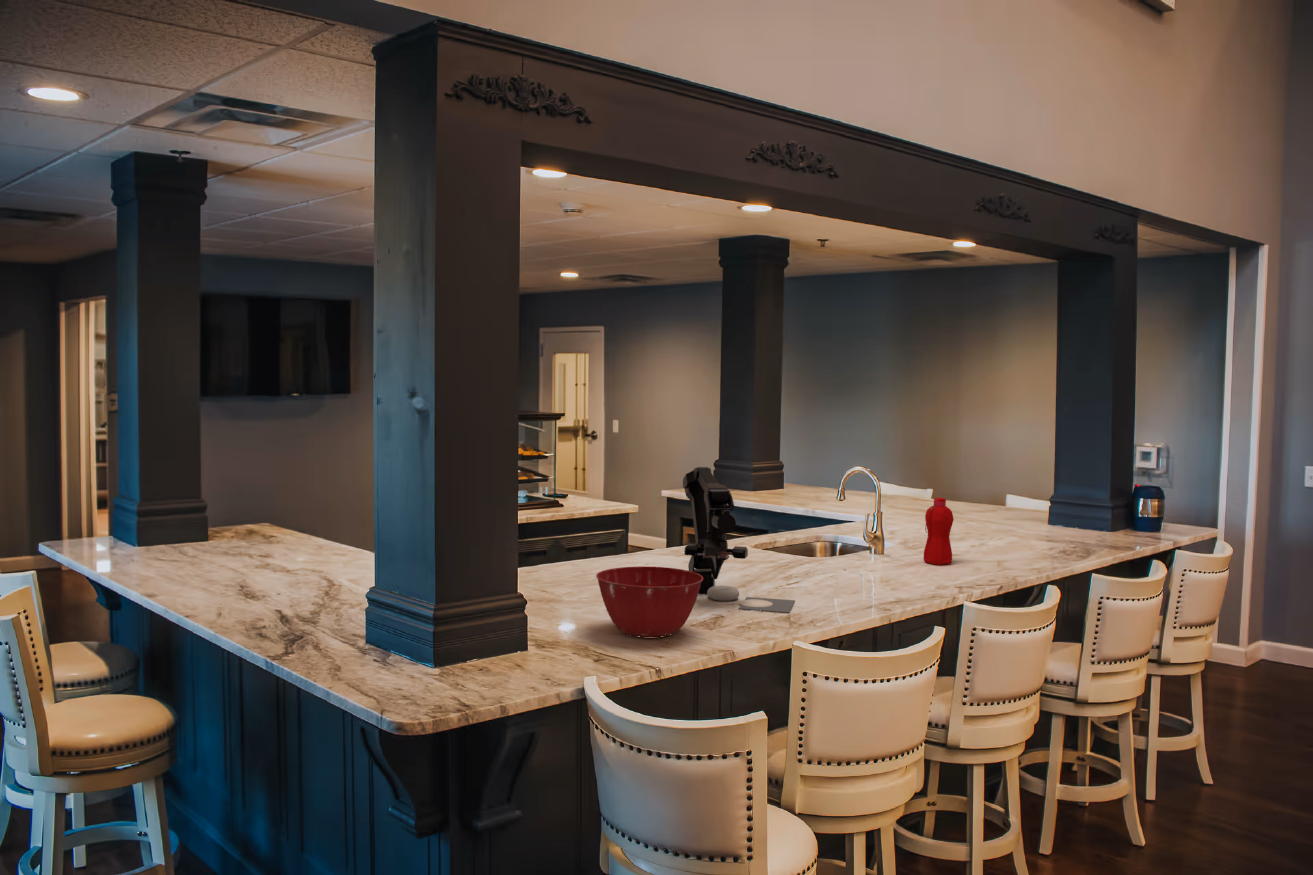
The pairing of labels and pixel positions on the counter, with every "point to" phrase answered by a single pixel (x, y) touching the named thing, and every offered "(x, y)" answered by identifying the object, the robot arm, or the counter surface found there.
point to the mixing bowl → (649, 598)
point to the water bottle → (938, 533)
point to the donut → (723, 593)
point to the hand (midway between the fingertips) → (715, 578)
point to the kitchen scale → (767, 604)
